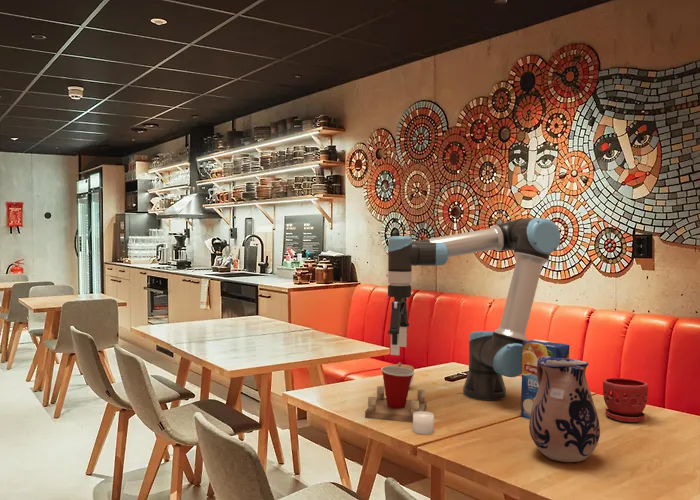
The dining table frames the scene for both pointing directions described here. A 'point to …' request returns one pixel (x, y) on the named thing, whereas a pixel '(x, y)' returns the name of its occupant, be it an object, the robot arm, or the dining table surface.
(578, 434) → the ceramic pitcher
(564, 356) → the juice carton
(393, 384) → the plastic cup
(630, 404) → the plant pot
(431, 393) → the dining table surface
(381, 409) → the stand
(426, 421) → the marshmallow
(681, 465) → the dining table surface
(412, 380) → the lidded jar
